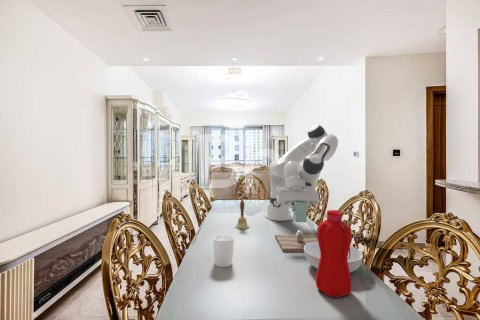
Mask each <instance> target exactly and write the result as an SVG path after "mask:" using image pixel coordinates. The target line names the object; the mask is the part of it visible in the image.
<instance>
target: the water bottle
mask: <svg viewBox="0 0 480 320" xmlns="http://www.w3.org/2000/svg"><path fill="white" fill-rule="evenodd" d="M342 218H343V213H342V211H341V210H337V209H328V210H327V211H326V219H325V220H324V221H321V222H320V223H319V225H318V226H317V229H316V237H317V239H318V243H319V248H320V261H319V265H318V269H317V268H316V269H317V270H316V274H315V275H316V276H315V286H316V287H317V289H318V290H319V291H321V292H322V293H323V294H325V295H327V296H328V297H330V298H341V297H343V296H348V295H350V293H351V292H352V276H351V273H350V271H349V266H348V261H347V259H349V258H350V246H352V240H353V236H352V235H353V234H352V230H351V227H350V226H349V225H348V224H347V223H346V222H344V221H343V219H342ZM348 253H349V258H348Z"/></svg>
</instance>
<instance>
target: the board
mask: <svg viewBox="0 0 480 320" xmlns="http://www.w3.org/2000/svg"><path fill="white" fill-rule="evenodd" d="M274 238H275V241H276V243H277V244H278V246H279V247H280V250H281V251H282V253H295V252H296V253H301V252H302V253H304V246H305V245H306V244H308V243H311V242H316V241H318V239H317V236H316V235H315V234H303V242H297V241H296V234H274Z"/></svg>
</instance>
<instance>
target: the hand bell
mask: <svg viewBox="0 0 480 320" xmlns="http://www.w3.org/2000/svg"><path fill="white" fill-rule="evenodd" d="M239 209H240V217H239V218H238V220H237V224H236V225H235V229H236V230H237V229H238V230H247V229H249V228H250V226H249V225H248V222H247V218H246V217H245V215H244V211H245V201H244V199H241V200H240V204H239Z"/></svg>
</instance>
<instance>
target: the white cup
mask: <svg viewBox="0 0 480 320" xmlns="http://www.w3.org/2000/svg"><path fill="white" fill-rule="evenodd" d="M234 238H235V237H234V236H232V235H229V234H228V235H227V234H218V235H215V236H213V238H212V241H213V257H214V261H213V262H214V265H215V266H217V267H219V268H227V267H230V266H232V265H233V257H234V256H233V255H234V240H235V239H234Z"/></svg>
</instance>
